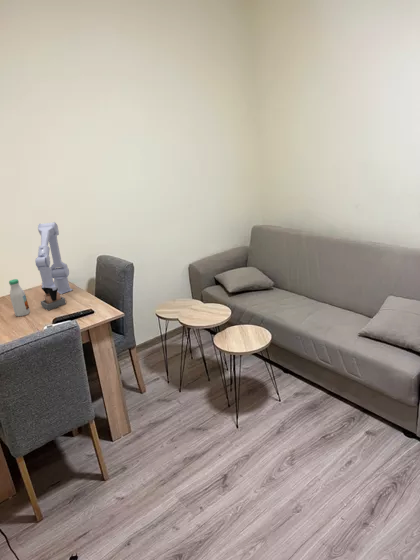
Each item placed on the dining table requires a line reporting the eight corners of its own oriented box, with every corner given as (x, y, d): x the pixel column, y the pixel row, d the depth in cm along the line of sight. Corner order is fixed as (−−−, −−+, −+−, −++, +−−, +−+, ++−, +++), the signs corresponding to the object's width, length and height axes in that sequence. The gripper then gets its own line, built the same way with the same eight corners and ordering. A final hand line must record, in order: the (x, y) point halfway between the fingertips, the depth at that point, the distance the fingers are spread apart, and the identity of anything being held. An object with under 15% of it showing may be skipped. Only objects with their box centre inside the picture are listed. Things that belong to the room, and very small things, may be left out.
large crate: (41, 307, 230) (40, 301, 229) (59, 300, 237) (57, 295, 236) (48, 310, 224) (47, 304, 223) (66, 303, 231) (64, 298, 230)
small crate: (46, 303, 230) (43, 295, 228) (57, 298, 234) (55, 291, 232) (49, 305, 226) (47, 297, 224) (61, 300, 231) (59, 292, 229)
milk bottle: (24, 316, 219) (15, 282, 212) (12, 316, 221) (2, 283, 214) (33, 310, 226) (24, 277, 219) (21, 310, 228) (11, 278, 221)
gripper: (34, 277, 227) (40, 299, 232) (45, 281, 217) (51, 304, 222) (46, 273, 231) (51, 294, 236) (57, 277, 222) (63, 300, 226)
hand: (52, 299), depth 229 cm, fingers closed on small crate, 5 cm apart
